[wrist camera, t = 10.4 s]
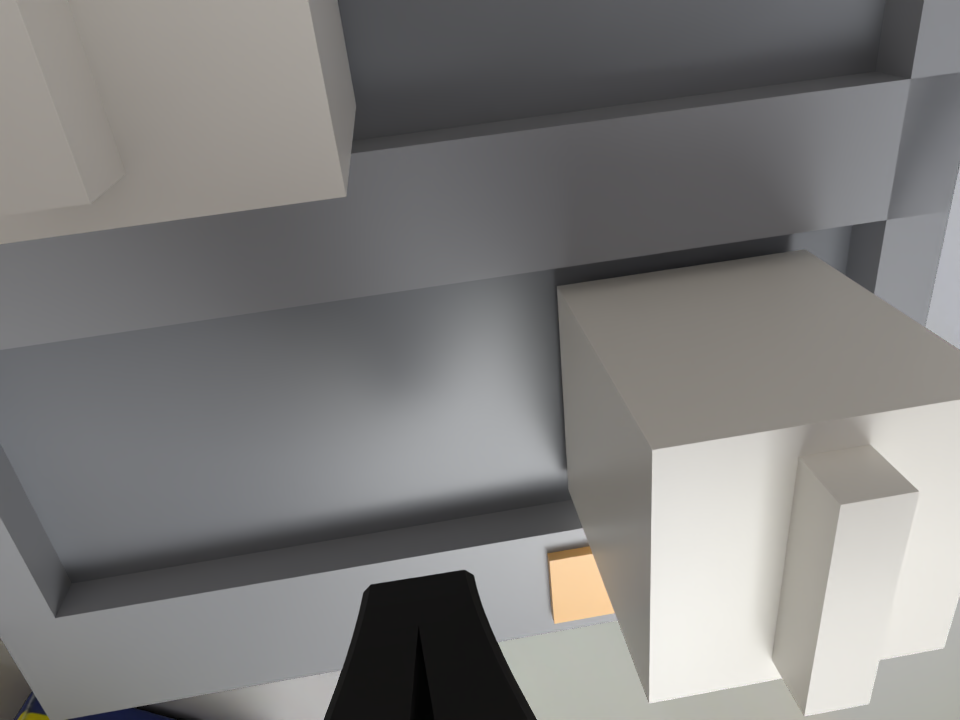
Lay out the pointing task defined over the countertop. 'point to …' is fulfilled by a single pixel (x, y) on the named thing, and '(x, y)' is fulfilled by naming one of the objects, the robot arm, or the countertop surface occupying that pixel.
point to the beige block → (168, 111)
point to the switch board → (425, 323)
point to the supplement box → (34, 716)
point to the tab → (763, 474)
